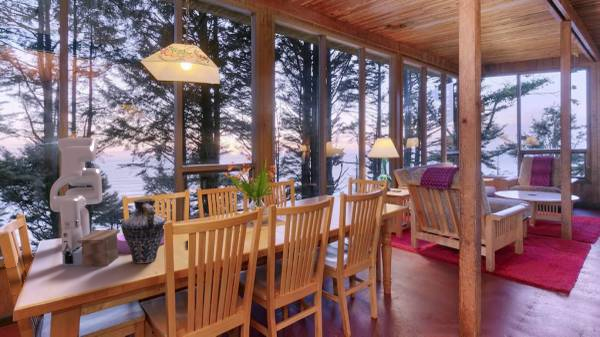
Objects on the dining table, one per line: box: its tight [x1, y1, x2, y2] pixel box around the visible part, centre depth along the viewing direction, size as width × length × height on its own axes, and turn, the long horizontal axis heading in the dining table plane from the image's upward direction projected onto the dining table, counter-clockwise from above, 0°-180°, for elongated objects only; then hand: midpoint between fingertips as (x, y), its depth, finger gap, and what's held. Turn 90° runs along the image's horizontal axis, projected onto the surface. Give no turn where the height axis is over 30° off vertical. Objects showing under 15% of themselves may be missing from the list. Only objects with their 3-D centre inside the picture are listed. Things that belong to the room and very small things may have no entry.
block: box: [61, 248, 83, 267], centre depth 160 cm, size 18×6×6 cm, turn 95°
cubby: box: [77, 229, 121, 268], centre depth 160 cm, size 11×17×13 cm, turn 5°
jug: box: [121, 197, 167, 264], centre depth 161 cm, size 21×19×30 cm
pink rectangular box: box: [117, 234, 165, 254], centre depth 184 cm, size 25×15×13 cm, turn 127°
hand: (73, 260), depth 159 cm, fingers closed on block, 6 cm apart
